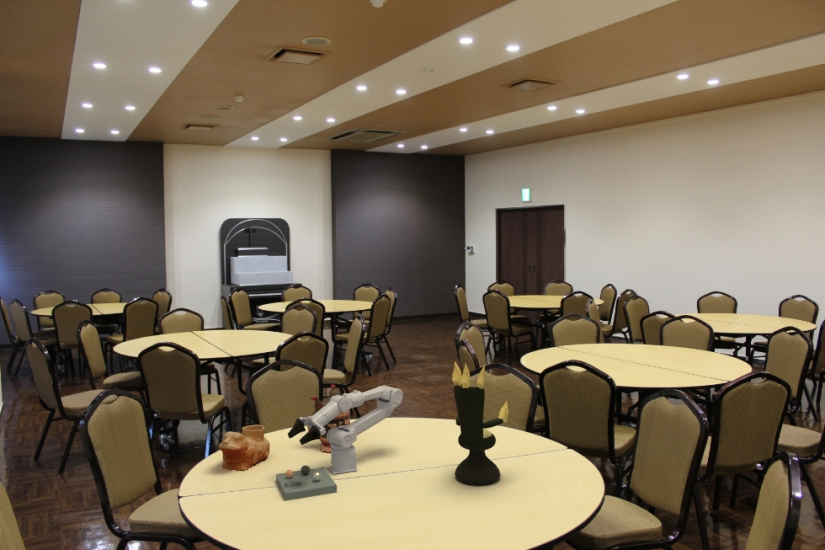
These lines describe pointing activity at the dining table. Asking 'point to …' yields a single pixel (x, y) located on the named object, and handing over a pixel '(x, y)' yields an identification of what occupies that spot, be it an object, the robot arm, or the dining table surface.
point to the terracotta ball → (289, 473)
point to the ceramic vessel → (244, 448)
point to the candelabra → (475, 429)
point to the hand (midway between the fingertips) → (294, 439)
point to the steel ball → (316, 476)
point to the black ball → (305, 470)
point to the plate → (305, 484)
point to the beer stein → (334, 423)
